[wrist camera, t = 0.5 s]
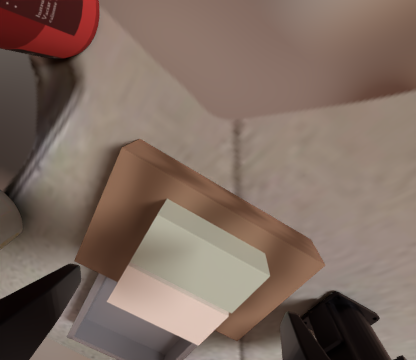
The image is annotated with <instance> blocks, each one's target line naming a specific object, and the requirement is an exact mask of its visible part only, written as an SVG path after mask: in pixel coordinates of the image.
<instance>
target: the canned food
mask: <svg viewBox="0 0 416 360" xmlns="http://www.w3.org/2000/svg"><path fill="white" fill-rule="evenodd" d="M98 22H99V1H98V0H0V48H1V49H5V50H11V51H16V52H21V53H25V54H30V55H35V56H40V57H45V58H52V59H62V58H67V57H71V56H74V55H77V54H79V53H80V52H82V51H83V50H85V49H86V48H87V46H88V45H89V44H90V43H91V41H92V40H93V38H94V36H95V33H96V30H97V27H98Z"/></svg>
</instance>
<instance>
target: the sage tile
mask: <svg viewBox="0 0 416 360" xmlns="http://www.w3.org/2000/svg"><path fill="white" fill-rule="evenodd" d="M130 262H131V263H133V264H135V265H137V266H139V267H141V268H143V269H145V270H147V271H149V272H151V273H153V274H155V275H157V276H159V277H161V278H163V279H165V280H167V281H169V282H171V283H173V284H175V285H177V286H179V287H181V288H182V289H184V290H186V291H188V292H190V293H192V294H194V295H196V296H198V297H200V298H202V299H204V300H206V301H208V302H210V303H212V304H214V305H216V306H218V307H220V308H222V309H224V310H226V311H228V312H230V313H233V312H234V311H235V310H236V309H237V308H238V307H239V306H240V305H241V304H242V303H243V302H244V301H245V300H246V299H247V298H248V297H249V296H250V295H251V294H252V293H253V292H254V291H255V290H256V289H258V288H259V287H260V286H261V285H262V284H263V283H264V282H265V281H266V280H267V279H268V278H269V277H270V273H269V268H268V264H267V259H266V255H265V253H263V252H261V251H260V250H258V249H256V248H254V247H253V246H251V245H249V244H247V243H245V242H244V241H242V240H240V239H238V238H237V237H235V236H233V235H231V234H229V233H228V232H226V231H224V230H222V229H221V228H219V227H217V226H215V225H213V224H212V223H210V222H208V221H206V220H205V219H203V218H201V217H199V216H197V215H196V214H194V213H192V212H190V211H188V210H187V209H185V208H183V207H181V206H180V205H178V204H176V203H174V202H172V201H171V200H169V199H167V200H166V201H165V203H164V205H163V206H162V208H161V209H160V211H159V213H158V214H157V216H156V218H155V220H154V221H153V223H152V225H151V226H150V228H149V230H148V232H147V233H146V235H145V237H144V238H143V240H142V242H141V244H140V245H139V247H138V249H137V250H136V252H135V254H134V256H133V257H132V259H131V261H130Z"/></svg>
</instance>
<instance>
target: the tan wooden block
mask: <svg viewBox="0 0 416 360" xmlns="http://www.w3.org/2000/svg"><path fill="white" fill-rule="evenodd" d="M167 199H169V200H171V201H172V202H174V203H176V204H178V205H180V206H181V207H183V208H185V209H187V210H188V211H190V212H192V213H194V214H196V215H197V216H199V217H201V218H203V219H205V220H206V221H208V222H210V223H212V224H213V225H215V226H217V227H219V228H221V229H222V230H224V231H226V232H228V233H229V234H231V235H233V236H235V237H237V238H238V239H240V240H242V241H244V242H245V243H247V244H249V245H251V246H253V247H254V248H256V249H258V250H260V251H261V252H263V253H265V255H266V259H267V264H268V268H269V273H270V277H269V278H268V279H267V280H266V281H265V282H264V283H263V284H262V285H261V286H260V287H259V288H258V289H256V290H255V291H254V292H253V293H252V294H251V295H250V296H249V297H248V298H247V299H246V300H245V301H244V302H243V303H242V304H241V305H240V306H239V307H238V308H237V309H236V310H235V311H234V312H233V313H230V312H229V317H228V318H227V319H225V320H224V321H223V322H222V323H221V324H220V325H219V326H218V327H217V328H216V329H215V331H217V332H219V333H221V334H223V335H225V336H228V337H230V338H232V339H234V340H236V341H238V340H239V339H240V338H241V337H243V336H244V335H245V334H246V333H247V332H248V331H250V330H251V329H252V328H253V327H254V326H255V325H256V324H258V323H259V322H260V321H261V320H262V319H263V318H265V317H266V316H267V315H268V314H269V313H270V312H272V311H273V310H274V309H275V308H276V307H277V306H279V305H280V304H281V303H282V302H283V301H284V300H286V299H287V298H288V297H289V296H290V295H291V294H293V293H294V292H295V291H296V290H297V289H298V288H299V287H301V286H302V285H303V284H304V283H305V282H306V281H308V280H309V279H310V278H311V277H312V276H313V275H315V274H316V273H317V272H318V271H319V270H320V269H322V268H323V267H324V266H325V264H324V262H323V260H322V258H321V257H320V255H319V253H318V251H317V249H316V248H315V246H314V244H313V242H312V241H311V239H309V238H307V237H306V236H304V235H302V234H301V233H299V232H297V231H295V230H294V229H292V228H290V227H289V226H287V225H285V224H284V223H282V222H280V221H278V220H277V219H275V218H273V217H272V216H270V215H268V214H267V213H265V212H263V211H261V210H260V209H258V208H256V207H255V206H253V205H251V204H250V203H248V202H246V201H245V200H243V199H241V198H239V197H238V196H236V195H234V194H233V193H231V192H229V191H228V190H226V189H224V188H222V187H221V186H219V185H217V184H216V183H214V182H212V181H211V180H209V179H207V178H205V177H204V176H202V175H200V174H199V173H197V172H195V171H194V170H192V169H190V168H189V167H187V166H185V165H183V164H182V163H180V162H178V161H177V160H175V159H173V158H172V157H170V156H168V155H166V154H165V153H163V152H161V151H160V150H158V149H156V148H155V147H153V146H151V145H150V144H148V143H146V142H144V141H143V140H141V139H139V140H137V141H135V142H132V143H130V144H128V145H126V146H124V147H122V148H121V151H120V153H119V155H118V158H117V160H116V163H115V165H114V167H113V170H112V172H111V175H110V177H109V179H108V182H107V184H106V186H105V189H104V191H103V194H102V196H101V198H100V201H99V203H98V206H97V208H96V210H95V213H94V215H93V218H92V220H91V222H90V225H89V227H88V230H87V232H86V234H85V237H84V239H83V241H82V244H81V246H80V249H79V251H78V253H77V256H76V258H75V262H77V263H79V264H81V265H84V266H86V267H88V268H90V269H92V270H94V271H96V272H98V273H100V274H102V275H104V276H106V277H108V278H110V279H112V280H114V281H116V282H118V281H119V280H120V278H121V276H122V275H123V273H124V271H125V269H126V268H127V266H128V264H129V263H130V261H131V259H132V257H133V256H134V254H135V252H136V250H137V249H138V247H139V245H140V244H141V242H142V240H143V238H144V237H145V235H146V233H147V232H148V230H149V228H150V226H151V225H152V223H153V221H154V220H155V218H156V216H157V214H158V213H159V211H160V209H161V208H162V206H163V205H164V203H165V201H166V200H167Z"/></svg>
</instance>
